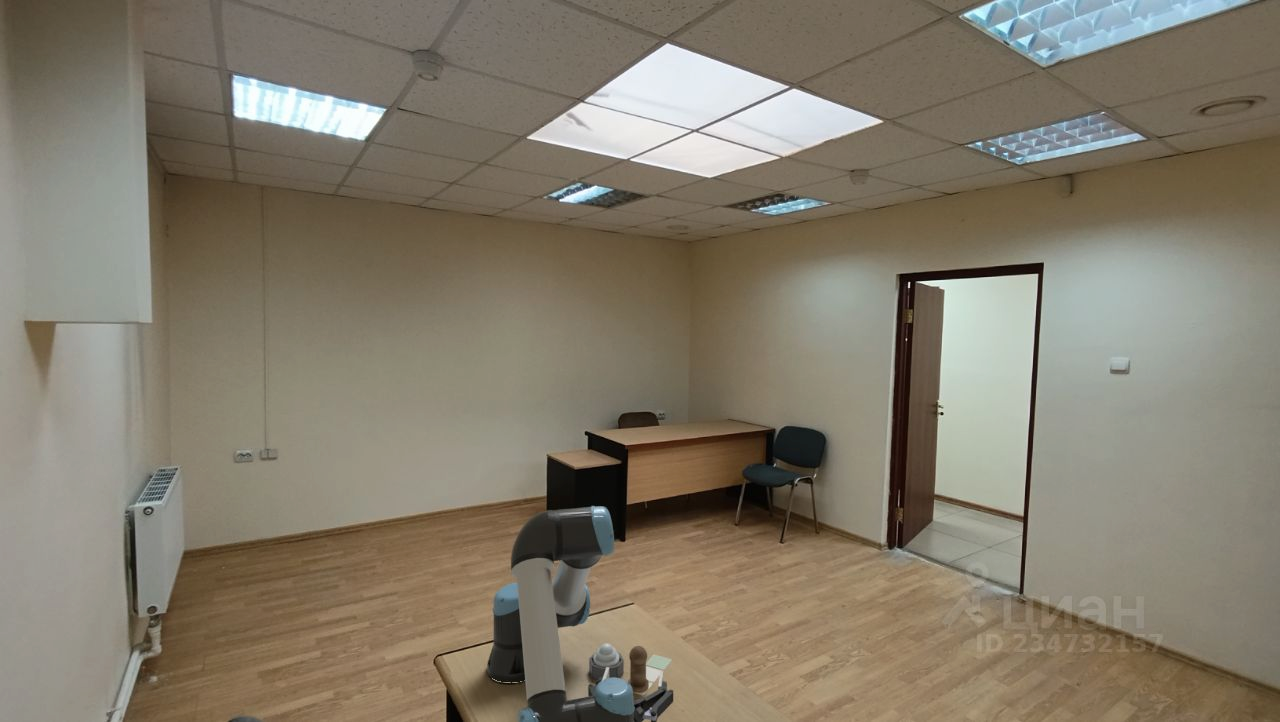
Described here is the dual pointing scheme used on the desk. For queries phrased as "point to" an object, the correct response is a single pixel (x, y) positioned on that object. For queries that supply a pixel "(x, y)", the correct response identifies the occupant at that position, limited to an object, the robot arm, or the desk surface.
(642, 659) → the walnut pawn
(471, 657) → the desk surface
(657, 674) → the game board
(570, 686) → the desk surface
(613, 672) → the dome base
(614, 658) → the pop-up dome
